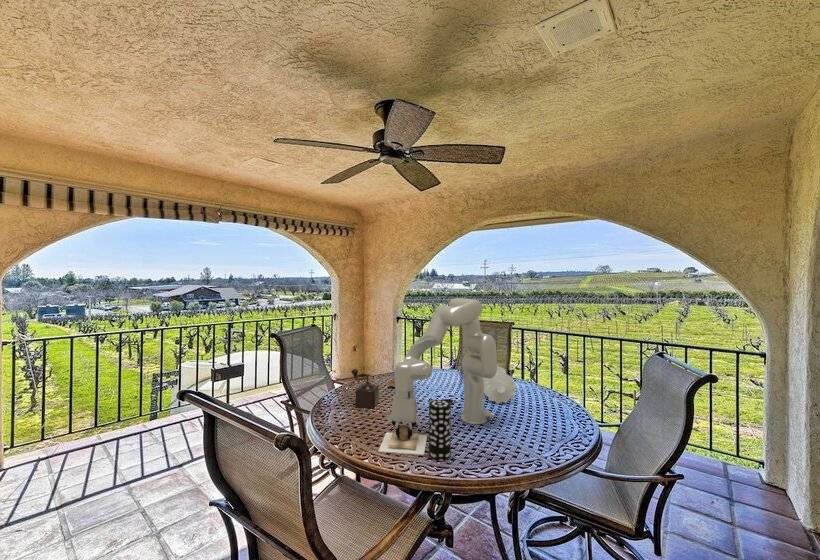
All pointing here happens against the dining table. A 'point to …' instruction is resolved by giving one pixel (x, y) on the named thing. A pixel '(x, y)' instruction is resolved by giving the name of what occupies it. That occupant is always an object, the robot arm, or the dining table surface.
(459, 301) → the robot arm
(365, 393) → the pepper mill
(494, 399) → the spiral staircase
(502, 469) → the dining table surface
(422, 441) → the white flat block
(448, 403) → the spotted tube
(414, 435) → the wooden lid
